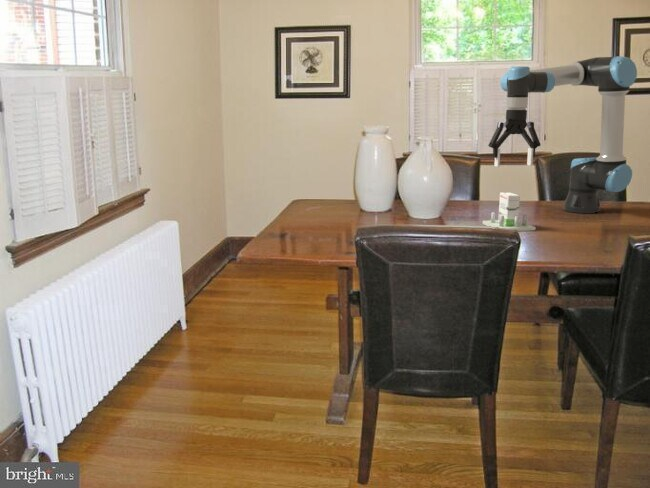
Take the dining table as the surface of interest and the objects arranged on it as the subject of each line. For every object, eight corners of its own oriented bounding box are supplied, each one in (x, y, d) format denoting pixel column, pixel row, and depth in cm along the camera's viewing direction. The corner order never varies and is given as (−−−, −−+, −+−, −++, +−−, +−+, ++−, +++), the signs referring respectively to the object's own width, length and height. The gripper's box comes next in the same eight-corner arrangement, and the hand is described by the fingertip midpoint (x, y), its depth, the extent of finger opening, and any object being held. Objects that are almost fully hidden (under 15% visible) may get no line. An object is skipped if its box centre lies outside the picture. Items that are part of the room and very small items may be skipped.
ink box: (518, 225, 267) (520, 195, 265) (506, 226, 266) (508, 195, 264) (509, 221, 276) (511, 191, 273) (497, 221, 275) (499, 192, 272)
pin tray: (515, 222, 280) (515, 209, 279) (535, 230, 265) (536, 216, 264) (482, 223, 277) (483, 210, 276) (501, 231, 262) (502, 218, 261)
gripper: (541, 108, 268) (538, 163, 273) (481, 108, 263) (478, 165, 267) (552, 109, 261) (548, 166, 266) (490, 109, 255) (487, 167, 260)
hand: (513, 165), depth 267 cm, fingers open, 13 cm apart
